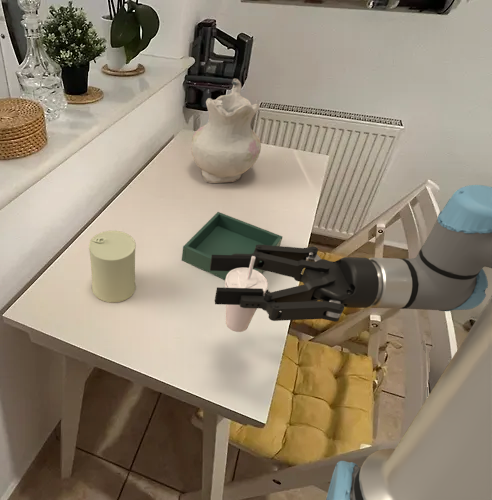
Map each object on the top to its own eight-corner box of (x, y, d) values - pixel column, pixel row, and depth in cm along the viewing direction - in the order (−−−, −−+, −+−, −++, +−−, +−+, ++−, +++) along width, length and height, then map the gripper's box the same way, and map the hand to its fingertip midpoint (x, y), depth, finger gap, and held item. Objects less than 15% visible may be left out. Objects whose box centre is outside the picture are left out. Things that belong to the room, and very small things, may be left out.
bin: (278, 250, 101) (282, 236, 98) (249, 291, 90) (252, 277, 87) (215, 224, 108) (217, 211, 105) (181, 260, 97) (182, 246, 95)
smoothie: (262, 318, 71) (281, 255, 62) (247, 345, 67) (265, 281, 58) (226, 303, 74) (239, 240, 65) (210, 327, 70) (222, 263, 61)
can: (102, 267, 95) (100, 224, 87) (141, 277, 93) (142, 234, 85) (84, 295, 88) (80, 251, 81) (126, 307, 86) (125, 263, 78)
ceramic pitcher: (189, 156, 137) (189, 77, 121) (250, 154, 136) (259, 73, 120) (192, 193, 121) (193, 107, 105) (262, 191, 120) (274, 103, 103)
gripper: (384, 351, 59) (217, 347, 59) (338, 258, 74) (204, 255, 74) (407, 315, 54) (224, 310, 54) (353, 223, 69) (210, 220, 69)
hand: (213, 278), depth 64 cm, fingers closed on smoothie, 6 cm apart
